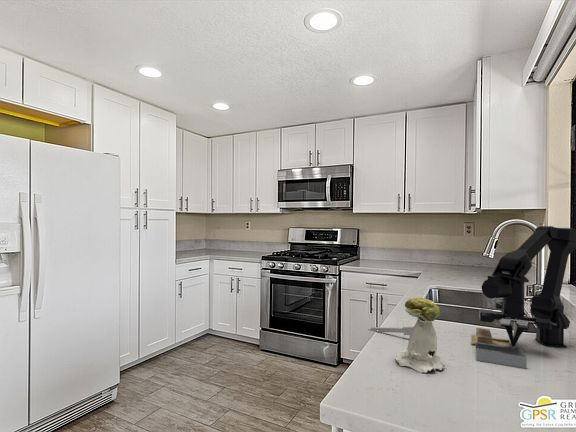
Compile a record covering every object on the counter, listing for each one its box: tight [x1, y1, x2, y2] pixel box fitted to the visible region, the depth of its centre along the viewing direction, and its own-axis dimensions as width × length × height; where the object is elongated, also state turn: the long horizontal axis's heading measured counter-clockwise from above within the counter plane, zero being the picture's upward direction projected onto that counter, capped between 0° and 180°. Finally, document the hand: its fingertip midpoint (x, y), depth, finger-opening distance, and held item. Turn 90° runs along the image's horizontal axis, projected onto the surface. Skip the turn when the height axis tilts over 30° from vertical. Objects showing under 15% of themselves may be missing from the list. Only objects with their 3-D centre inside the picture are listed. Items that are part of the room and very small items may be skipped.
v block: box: [475, 342, 528, 369], centre depth 100 cm, size 12×7×3 cm, turn 64°
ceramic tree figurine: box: [395, 297, 446, 374], centre depth 97 cm, size 12×13×18 cm
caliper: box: [367, 326, 414, 336], centre depth 120 cm, size 20×1×6 cm, turn 50°
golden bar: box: [470, 334, 511, 347], centre depth 111 cm, size 10×3×3 cm, turn 64°
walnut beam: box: [475, 327, 494, 344], centre depth 112 cm, size 4×10×4 cm, turn 154°
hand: (513, 346), depth 108 cm, fingers closed
